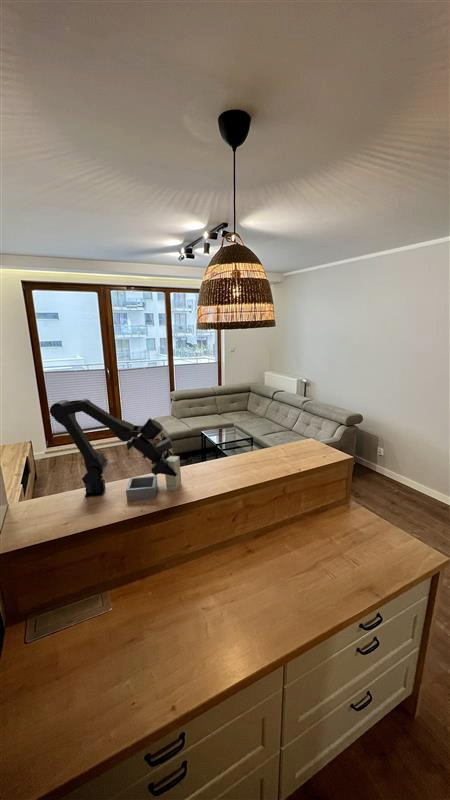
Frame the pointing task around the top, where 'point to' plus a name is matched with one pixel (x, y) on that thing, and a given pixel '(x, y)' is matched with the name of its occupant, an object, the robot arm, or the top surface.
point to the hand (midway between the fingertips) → (176, 471)
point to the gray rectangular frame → (142, 488)
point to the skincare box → (173, 481)
